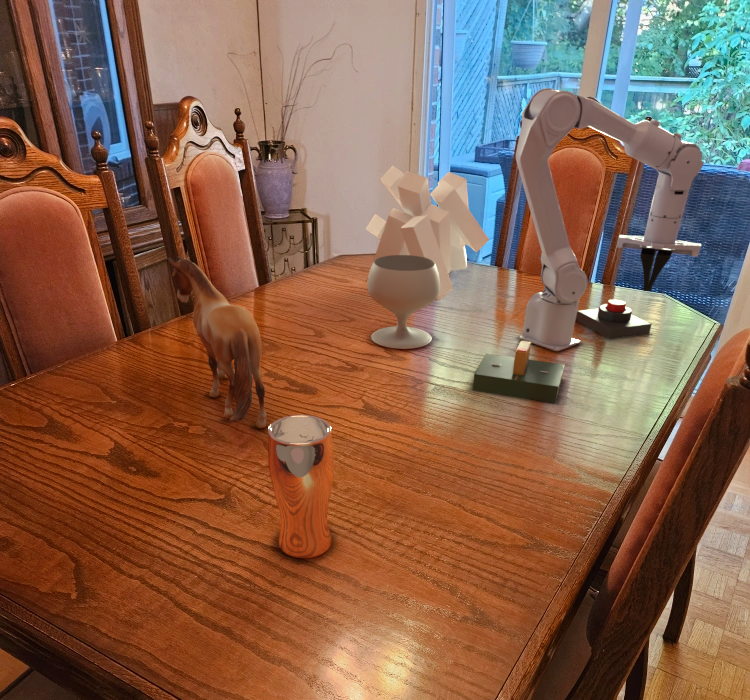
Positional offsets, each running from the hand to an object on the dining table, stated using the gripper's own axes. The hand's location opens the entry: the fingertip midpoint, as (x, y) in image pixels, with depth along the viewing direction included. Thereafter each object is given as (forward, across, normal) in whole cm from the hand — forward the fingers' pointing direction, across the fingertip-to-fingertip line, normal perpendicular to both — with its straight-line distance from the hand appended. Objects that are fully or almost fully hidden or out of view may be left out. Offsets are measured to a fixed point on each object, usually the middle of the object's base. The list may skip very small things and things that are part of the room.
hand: (647, 289), depth 129 cm
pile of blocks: (+11, -52, +17) cm, 56 cm away
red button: (+7, -5, +7) cm, 11 cm away
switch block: (+10, -6, +6) cm, 13 cm away
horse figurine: (+11, -57, -64) cm, 86 cm away
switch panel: (+10, -16, -32) cm, 38 cm away
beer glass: (+11, -27, -88) cm, 92 cm away
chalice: (+11, -43, -21) cm, 49 cm away
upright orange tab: (+7, -16, -32) cm, 37 cm away
